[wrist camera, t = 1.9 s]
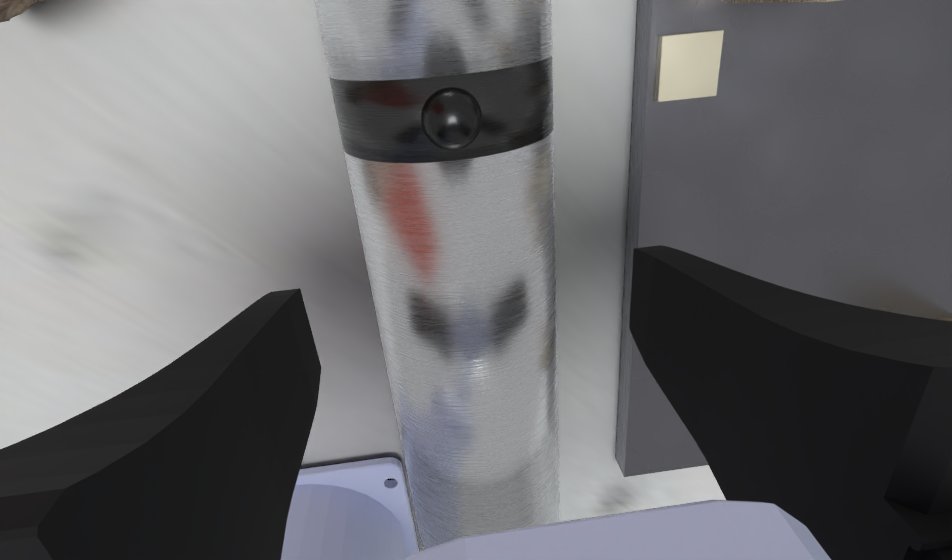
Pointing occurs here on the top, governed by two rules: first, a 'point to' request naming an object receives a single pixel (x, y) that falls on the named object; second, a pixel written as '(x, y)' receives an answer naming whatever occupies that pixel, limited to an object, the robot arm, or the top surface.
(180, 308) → the top surface
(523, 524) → the silver long rounded block
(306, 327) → the robot arm
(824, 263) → the grey plate with pegs
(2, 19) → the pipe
